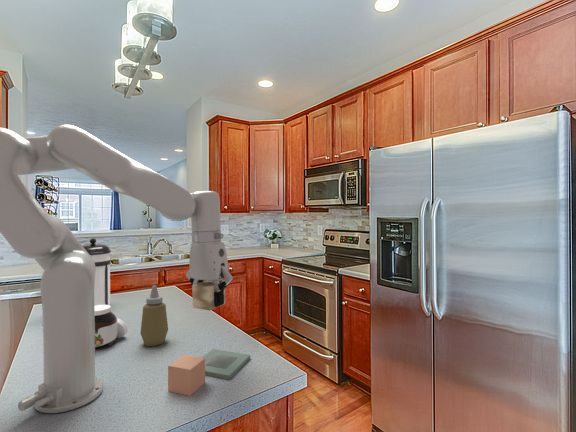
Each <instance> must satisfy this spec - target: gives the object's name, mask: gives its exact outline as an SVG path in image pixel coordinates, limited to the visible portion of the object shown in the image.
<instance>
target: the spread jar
mask: <svg viewBox="0 0 576 432" xmlns="http://www.w3.org/2000/svg"><path fill="white" fill-rule="evenodd" d="M127 333H128V327H127V324H126V323H125V322H124V321H123V320H122V319H120V318H118V317H117V316H116V314H115V313H113V312H112V306H111V305H95V351H96V350H102V349H104V348H107V347H109V346H111V345H112V344H113V343H114V342H115V340H116V338H120V339H121V338H124V336H125V335H127Z"/></svg>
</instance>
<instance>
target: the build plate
mask: <svg viewBox="0 0 576 432" xmlns="http://www.w3.org/2000/svg"><path fill="white" fill-rule="evenodd" d="M201 358H205V376H207V377H208V376H209V377H214V378H220V379H225V380H231V379H232V378H233V376H235V374H237V373H238V371H239V370H240V369H242V367H243V366H244V365H246V363H248V361H249V360H250V359H251V354H246V353H241V352H240V353H239V352H233V351H228V350H223V349H214V348H212V349H211V350H210V351H208V352H207V353H205V354H204V356H202V357H201Z"/></svg>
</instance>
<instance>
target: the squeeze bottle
mask: <svg viewBox="0 0 576 432" xmlns="http://www.w3.org/2000/svg"><path fill="white" fill-rule="evenodd" d="M145 302H146V304H144V305H143V306H142V315H141V323H140V325H141V326H140V336H141V339H142V341H143V344H144V345H145V346H147V347H156V346H159V345H162V344H163V343H165V341H166V338H167V335H168V332H169V323H168V317H167V316H168V315H167V306H166V304H165V303H164V302H163V296H162V295H159V291H158V287H157V284H156V285H152V286H151V291H150V294H149V296H147V297H146V301H145Z"/></svg>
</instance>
